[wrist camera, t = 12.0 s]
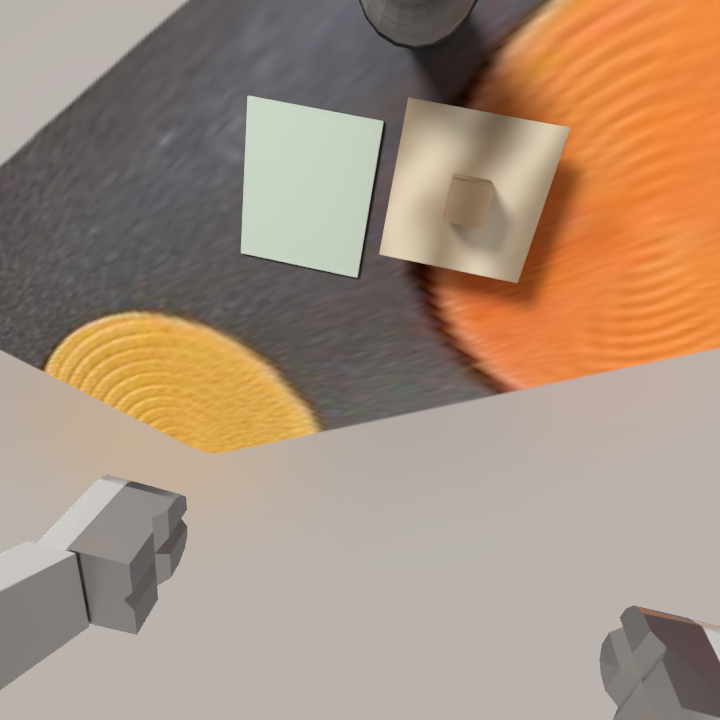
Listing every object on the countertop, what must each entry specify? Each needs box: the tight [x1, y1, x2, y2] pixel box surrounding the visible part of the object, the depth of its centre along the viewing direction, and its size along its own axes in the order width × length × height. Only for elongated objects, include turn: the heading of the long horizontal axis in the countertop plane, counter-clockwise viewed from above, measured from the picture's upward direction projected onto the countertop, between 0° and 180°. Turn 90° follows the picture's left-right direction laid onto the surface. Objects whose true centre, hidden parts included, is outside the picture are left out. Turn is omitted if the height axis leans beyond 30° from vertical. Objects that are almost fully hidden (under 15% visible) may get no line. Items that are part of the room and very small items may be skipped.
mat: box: [241, 96, 384, 278], centre depth 44 cm, size 12×14×1 cm
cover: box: [379, 98, 570, 283], centre depth 36 cm, size 12×12×5 cm
